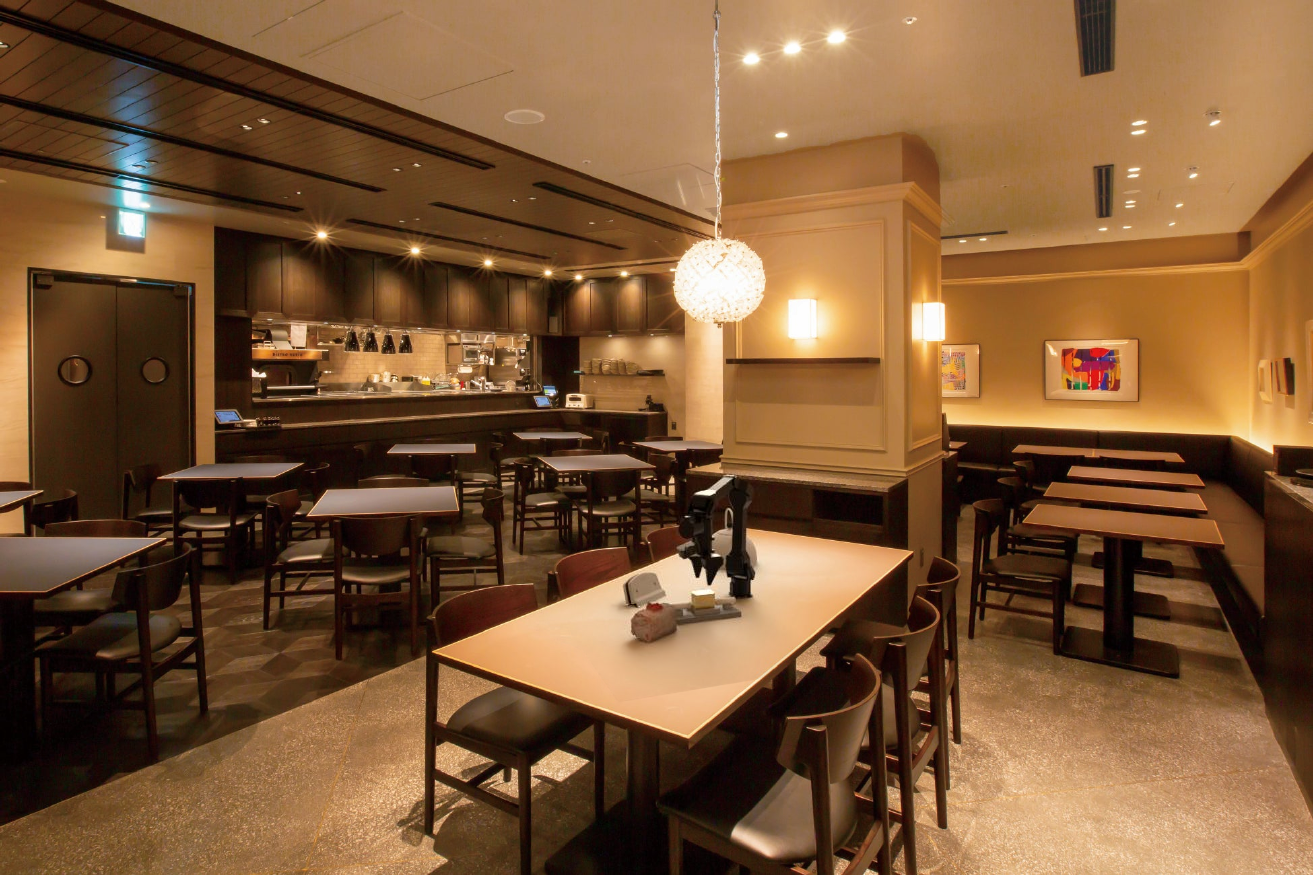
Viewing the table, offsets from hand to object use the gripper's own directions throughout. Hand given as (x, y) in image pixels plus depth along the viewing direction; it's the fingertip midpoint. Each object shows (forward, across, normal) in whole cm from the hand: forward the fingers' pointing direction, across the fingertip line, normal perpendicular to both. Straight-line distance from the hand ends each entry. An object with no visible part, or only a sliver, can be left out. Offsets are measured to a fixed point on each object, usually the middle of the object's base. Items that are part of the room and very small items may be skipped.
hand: (703, 581), depth 223 cm
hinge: (+11, -23, -12) cm, 28 cm away
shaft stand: (+11, 0, 0) cm, 11 cm away
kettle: (+11, -59, +38) cm, 71 cm away
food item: (+11, +12, -21) cm, 26 cm away
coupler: (+9, 0, 0) cm, 9 cm away
